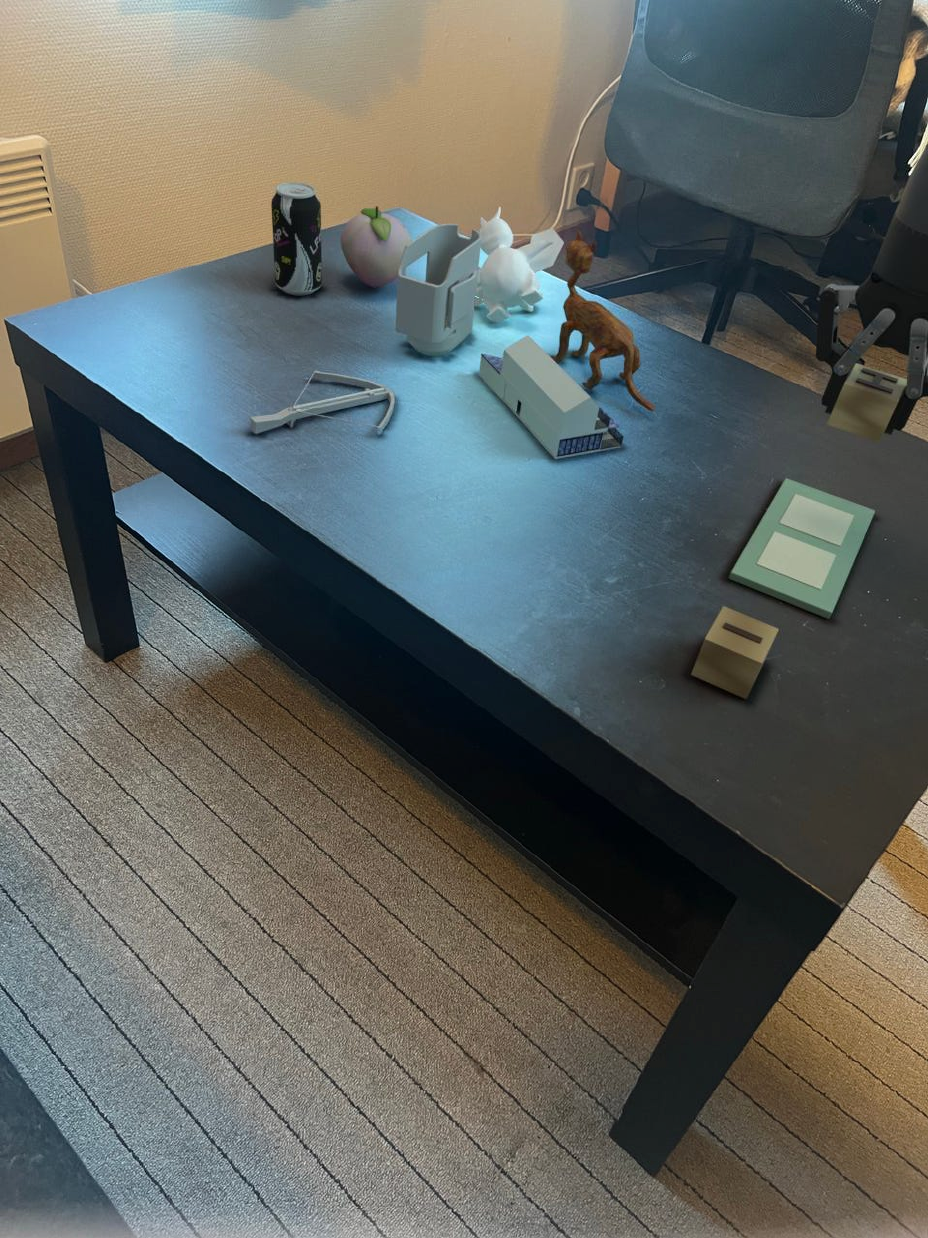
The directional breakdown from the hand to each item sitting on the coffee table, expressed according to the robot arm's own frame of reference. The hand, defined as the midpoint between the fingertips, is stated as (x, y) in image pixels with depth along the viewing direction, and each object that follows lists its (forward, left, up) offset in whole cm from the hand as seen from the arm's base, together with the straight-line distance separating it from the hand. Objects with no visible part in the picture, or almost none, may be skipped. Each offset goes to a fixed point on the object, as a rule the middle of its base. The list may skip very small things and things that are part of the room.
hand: (860, 419), depth 80 cm
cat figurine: (+28, -13, -12) cm, 33 cm away
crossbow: (+48, +12, -12) cm, 51 cm away
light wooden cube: (0, 0, 0) cm, 0 cm away
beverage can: (+68, -10, -12) cm, 70 cm away
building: (+30, -2, -12) cm, 33 cm away
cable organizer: (+47, -8, -12) cm, 49 cm away
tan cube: (+1, +23, -12) cm, 26 cm away
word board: (0, +3, -12) cm, 12 cm away
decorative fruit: (+61, -17, -12) cm, 64 cm away
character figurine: (+46, -22, -12) cm, 52 cm away
